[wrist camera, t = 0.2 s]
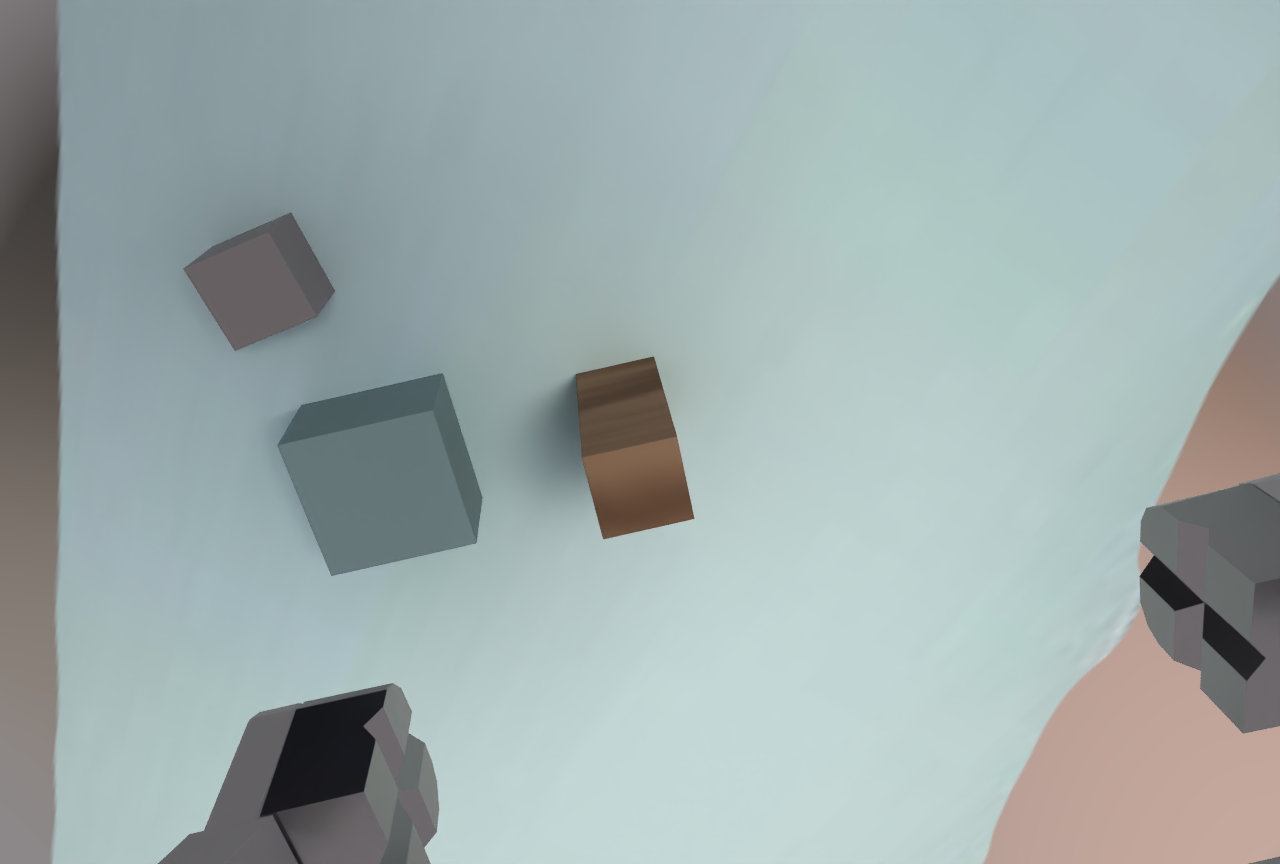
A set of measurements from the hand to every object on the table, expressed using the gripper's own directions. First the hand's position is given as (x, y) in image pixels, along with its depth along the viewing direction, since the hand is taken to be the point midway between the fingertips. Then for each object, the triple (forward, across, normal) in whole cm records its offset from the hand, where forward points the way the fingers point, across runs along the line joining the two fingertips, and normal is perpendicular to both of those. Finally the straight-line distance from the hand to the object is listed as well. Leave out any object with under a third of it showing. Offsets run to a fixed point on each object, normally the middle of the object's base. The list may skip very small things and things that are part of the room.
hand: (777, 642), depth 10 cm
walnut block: (+48, +2, +17) cm, 51 cm away
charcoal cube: (+48, +20, +4) cm, 52 cm away
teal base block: (+48, +17, +17) cm, 54 cm away
